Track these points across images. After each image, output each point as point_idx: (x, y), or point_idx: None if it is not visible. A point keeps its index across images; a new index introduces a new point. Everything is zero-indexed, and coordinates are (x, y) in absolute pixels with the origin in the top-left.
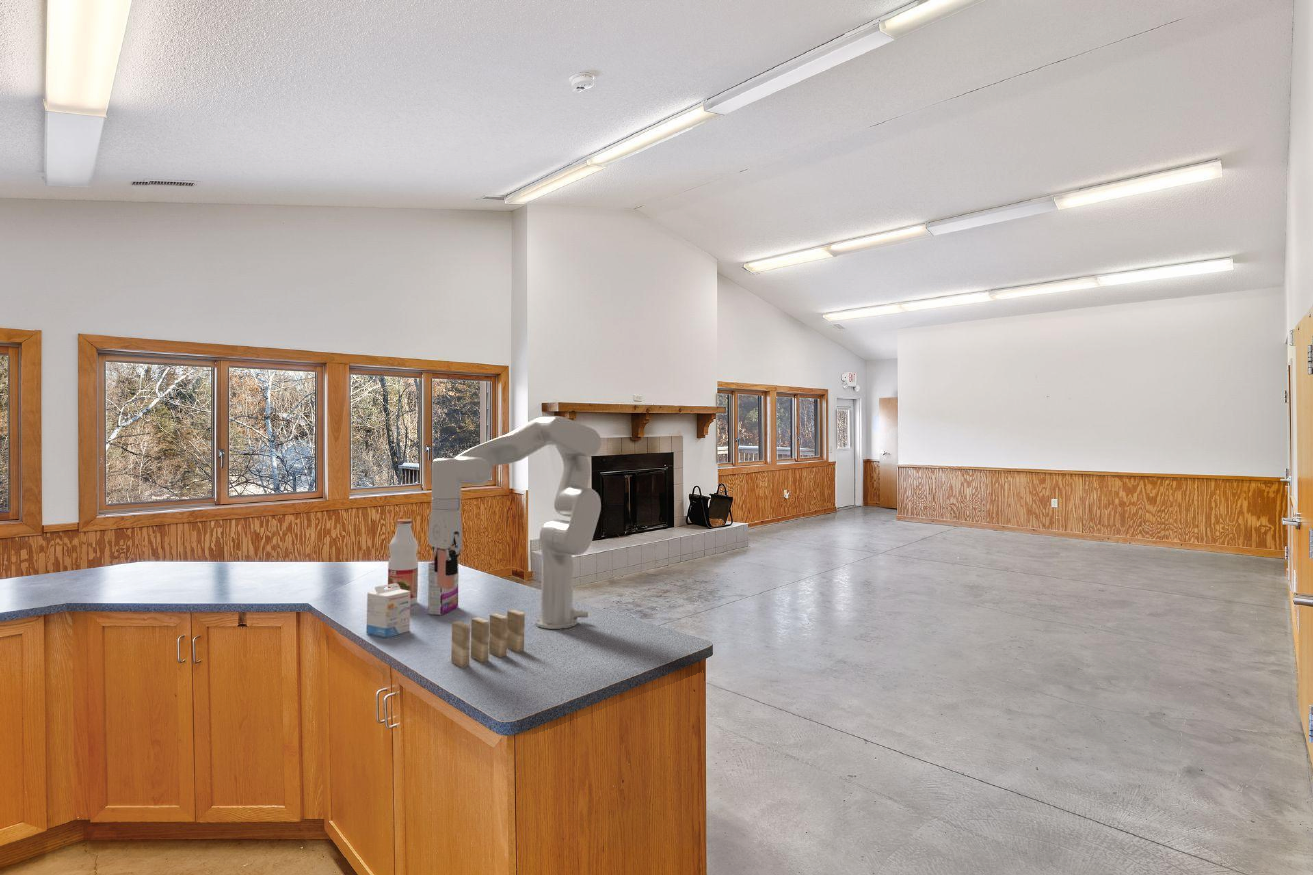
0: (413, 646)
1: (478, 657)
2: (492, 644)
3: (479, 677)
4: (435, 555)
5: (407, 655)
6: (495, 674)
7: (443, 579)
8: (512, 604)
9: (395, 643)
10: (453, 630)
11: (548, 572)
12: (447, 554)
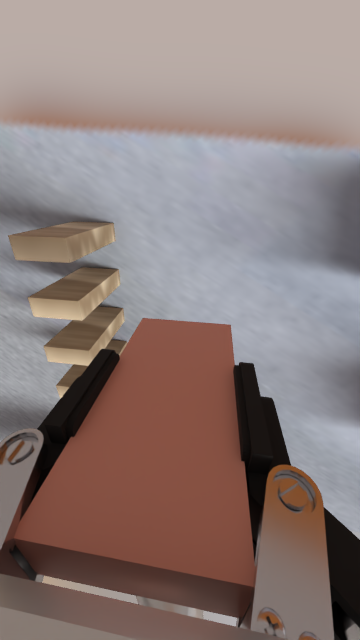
0: (276, 221)
1: (88, 269)
2: (105, 315)
3: (3, 213)
4: (268, 479)
5: (225, 169)
6: (7, 245)
7: (167, 343)
8: (331, 483)
9: (340, 199)
10: (69, 233)
11: None
12: (4, 488)
